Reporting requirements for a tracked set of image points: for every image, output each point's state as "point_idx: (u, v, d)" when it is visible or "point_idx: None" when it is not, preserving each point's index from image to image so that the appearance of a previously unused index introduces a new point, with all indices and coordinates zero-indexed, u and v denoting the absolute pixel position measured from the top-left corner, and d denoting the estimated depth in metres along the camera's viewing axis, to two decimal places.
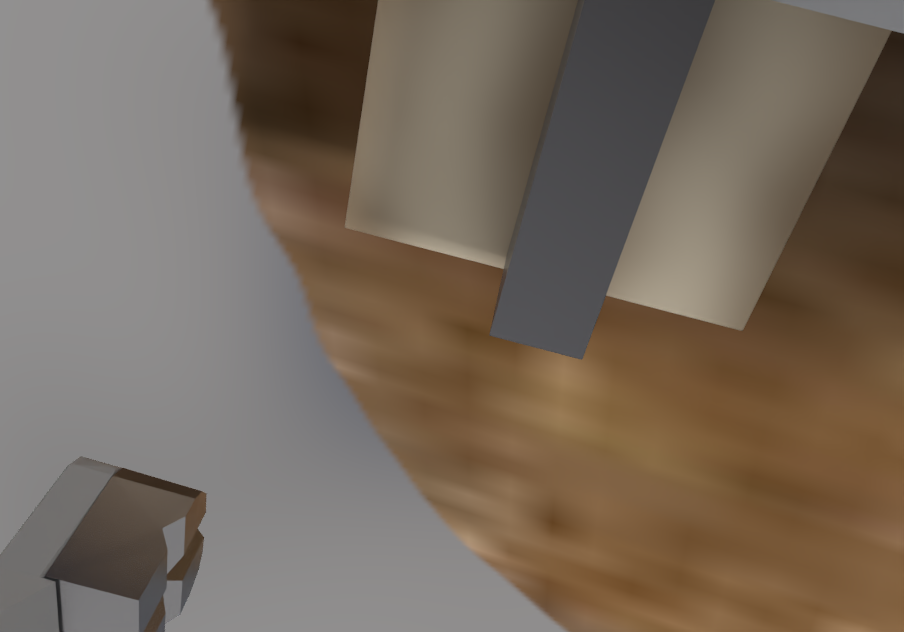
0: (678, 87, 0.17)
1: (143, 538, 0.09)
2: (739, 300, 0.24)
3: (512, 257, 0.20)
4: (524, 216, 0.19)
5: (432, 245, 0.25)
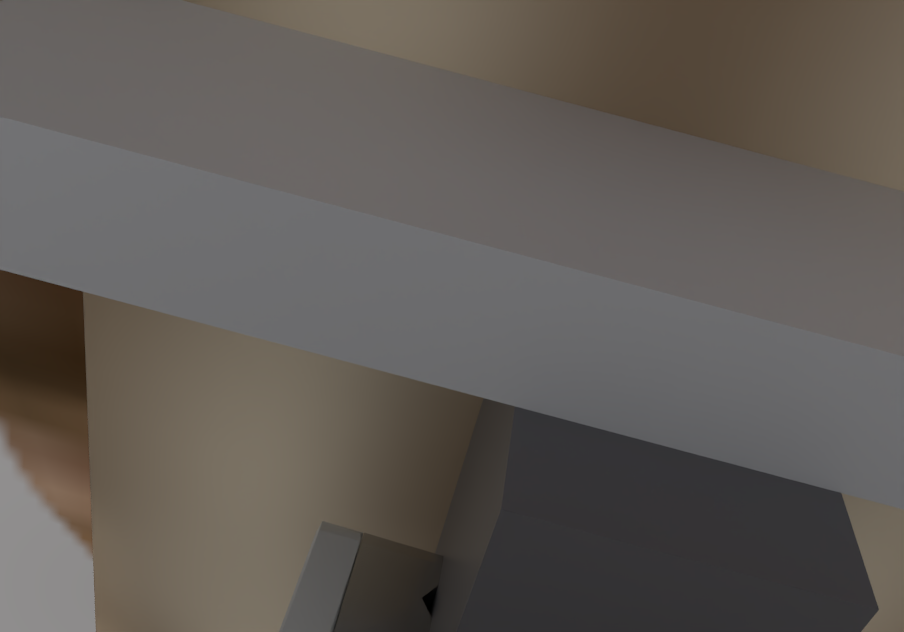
0: None
1: (407, 609, 0.09)
2: None
3: None
4: None
5: None
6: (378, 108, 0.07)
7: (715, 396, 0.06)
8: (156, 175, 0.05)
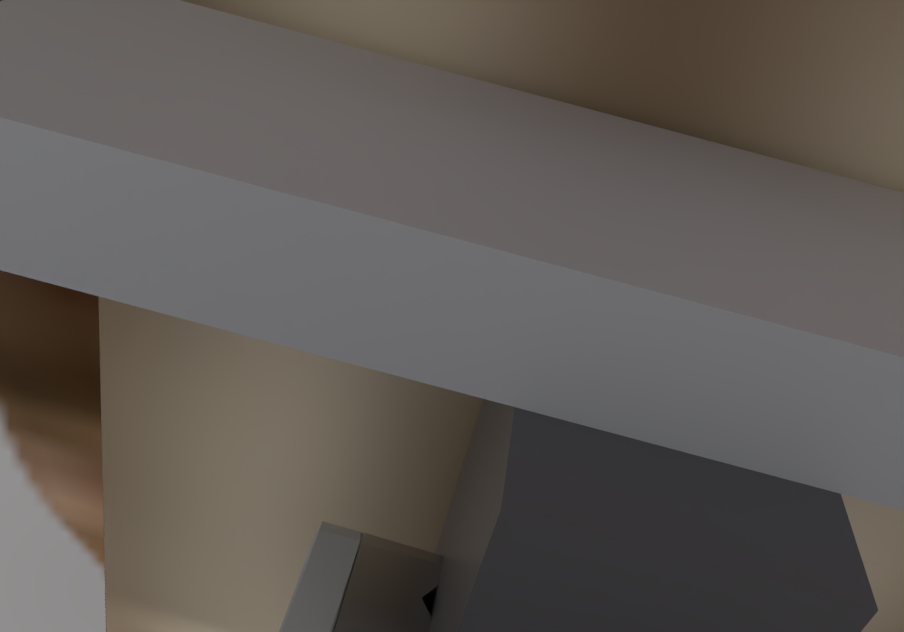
0: None
1: (407, 609, 0.09)
2: None
3: None
4: None
5: None
6: (378, 108, 0.07)
7: (714, 397, 0.06)
8: (155, 177, 0.05)
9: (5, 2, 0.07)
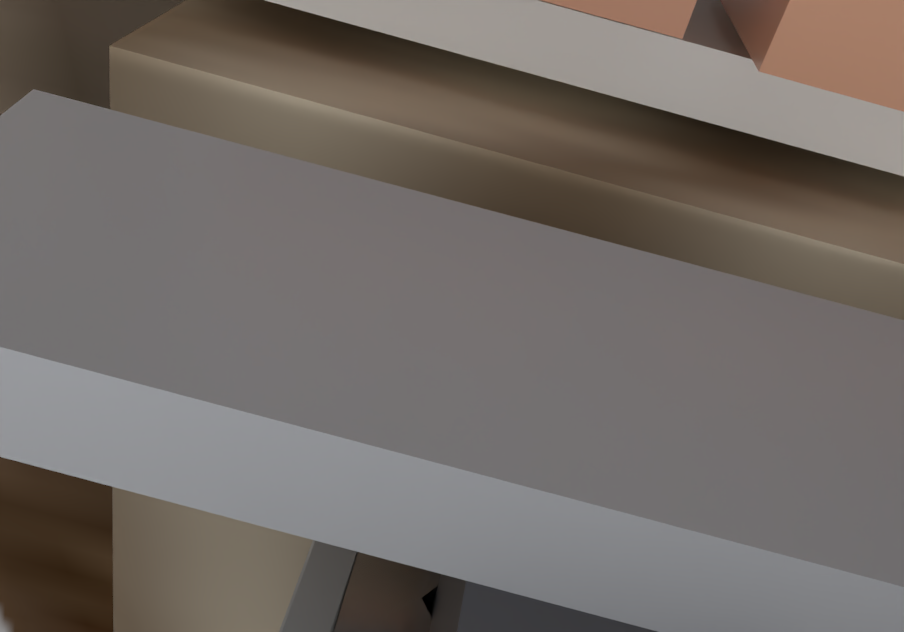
0: None
1: (407, 609, 0.09)
2: None
3: None
4: None
5: None
6: (336, 260, 0.07)
7: (658, 586, 0.06)
8: (105, 386, 0.06)
9: None
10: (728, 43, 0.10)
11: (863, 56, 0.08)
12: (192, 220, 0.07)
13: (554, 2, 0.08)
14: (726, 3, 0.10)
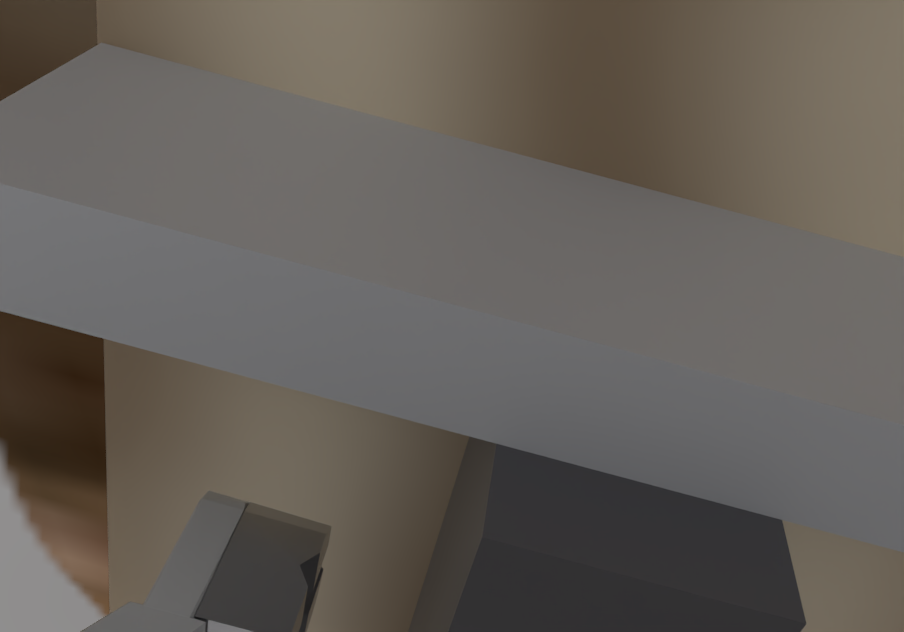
0: None
1: (283, 576, 0.09)
2: None
3: None
4: None
5: None
6: (377, 174, 0.08)
7: (670, 437, 0.07)
8: (185, 247, 0.06)
9: (45, 78, 0.08)
10: None
11: None
12: (249, 139, 0.08)
13: None
14: None
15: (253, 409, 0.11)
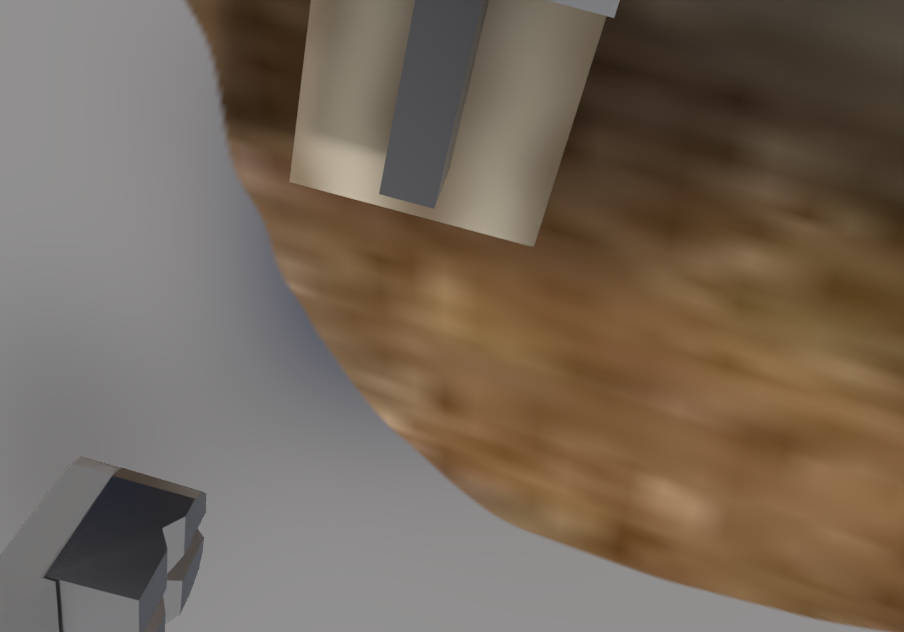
0: (471, 40, 0.32)
1: (144, 538, 0.09)
2: (529, 227, 0.40)
3: (389, 143, 0.34)
4: (394, 117, 0.34)
5: (343, 193, 0.40)
6: None
7: None
8: None
9: None
10: None
11: None
12: None
13: None
14: None
15: (357, 14, 0.36)
